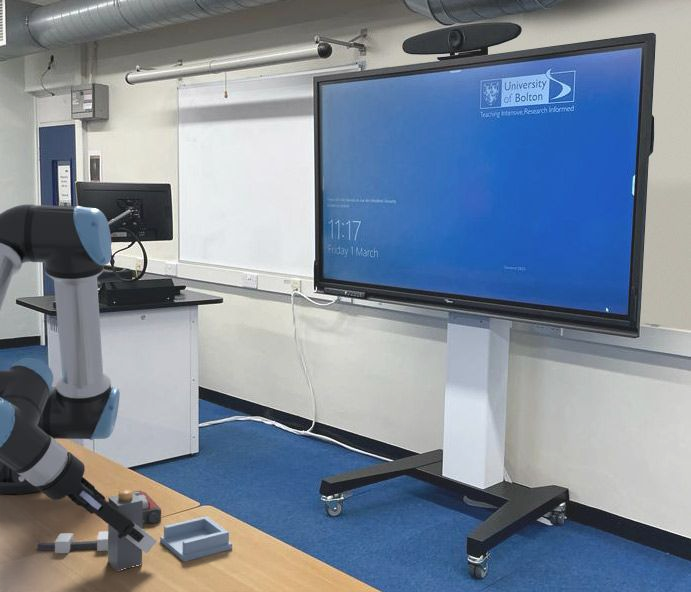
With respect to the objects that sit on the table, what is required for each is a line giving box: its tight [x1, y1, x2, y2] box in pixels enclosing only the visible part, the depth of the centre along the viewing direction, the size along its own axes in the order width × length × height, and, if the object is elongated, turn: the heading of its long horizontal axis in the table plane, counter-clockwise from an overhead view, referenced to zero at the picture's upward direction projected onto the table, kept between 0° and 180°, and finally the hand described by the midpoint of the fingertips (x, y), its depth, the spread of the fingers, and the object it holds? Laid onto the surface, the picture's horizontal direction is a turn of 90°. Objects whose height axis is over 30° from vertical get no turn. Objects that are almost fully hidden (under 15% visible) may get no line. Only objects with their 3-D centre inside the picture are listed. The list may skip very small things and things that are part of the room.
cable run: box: [36, 530, 108, 554], centre depth 142 cm, size 4×16×2 cm, turn 102°
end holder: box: [159, 515, 233, 563], centre depth 145 cm, size 10×10×3 cm
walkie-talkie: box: [132, 490, 162, 525], centre depth 156 cm, size 9×4×20 cm
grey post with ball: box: [107, 489, 143, 572], centre depth 136 cm, size 4×4×13 cm
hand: (145, 541), depth 139 cm, fingers closed on grey post with ball, 4 cm apart
